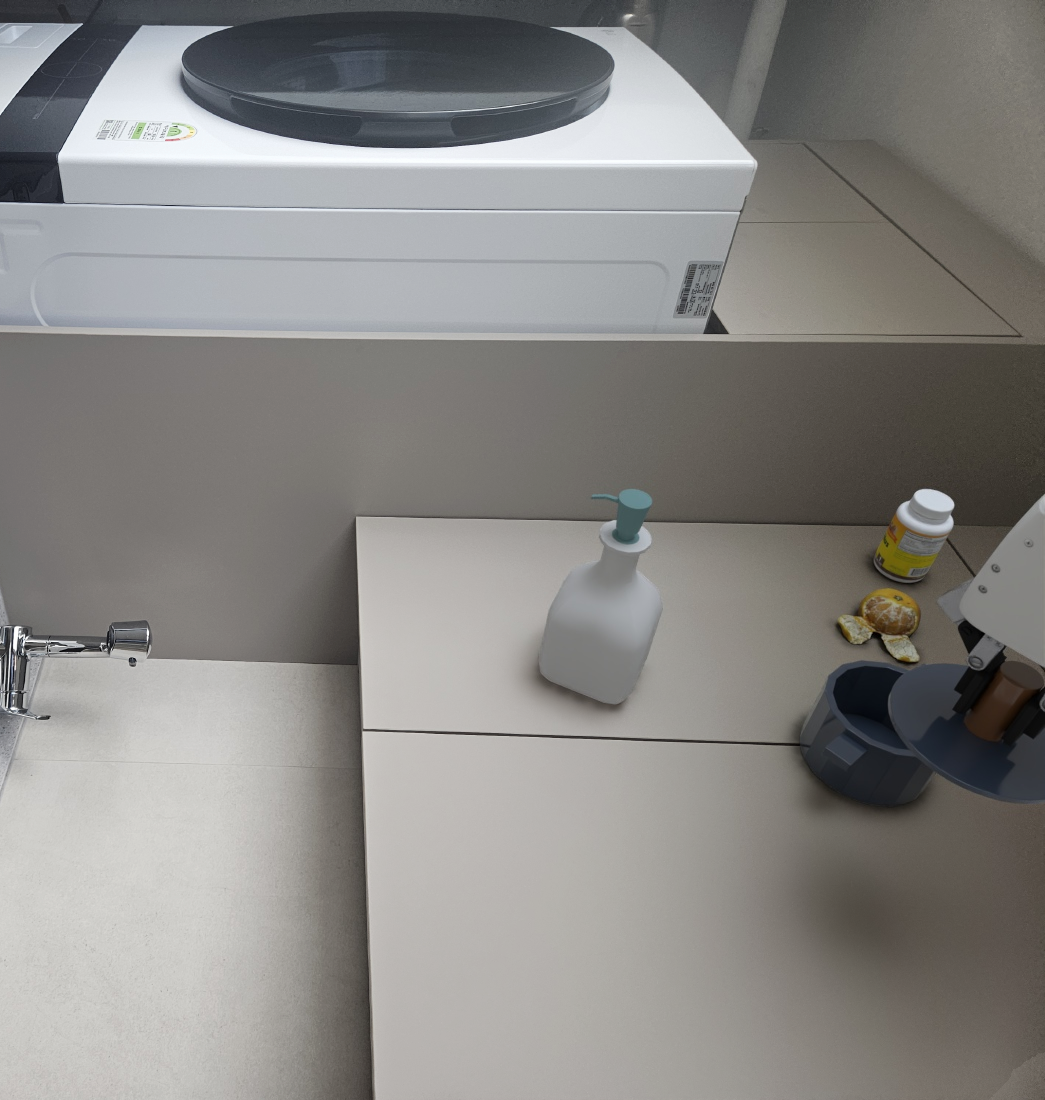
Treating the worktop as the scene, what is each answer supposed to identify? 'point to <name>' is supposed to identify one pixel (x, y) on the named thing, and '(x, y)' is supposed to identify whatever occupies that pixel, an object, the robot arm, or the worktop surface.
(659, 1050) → the worktop surface
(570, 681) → the soap bottle
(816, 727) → the pot
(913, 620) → the fruit
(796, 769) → the worktop surface
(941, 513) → the supplement bottle
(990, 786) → the lid
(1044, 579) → the robot arm
